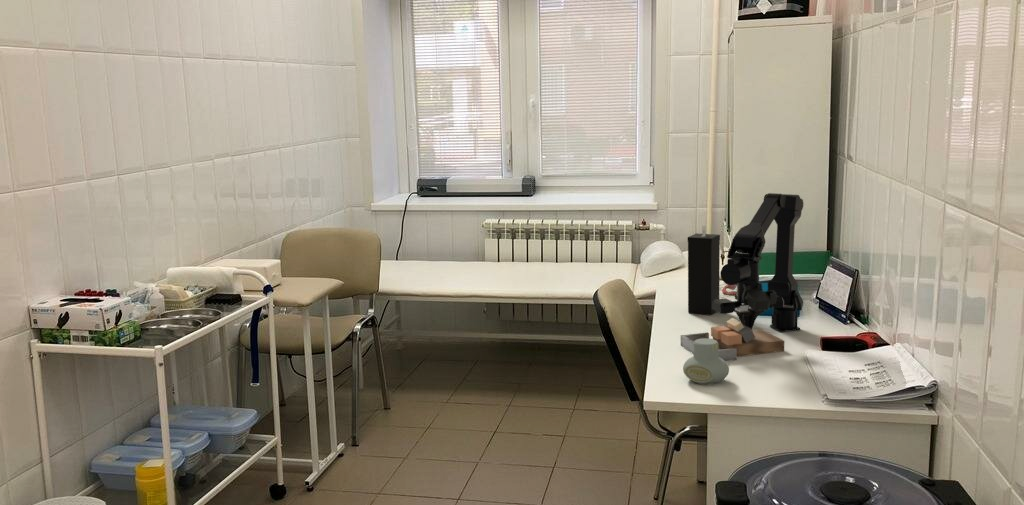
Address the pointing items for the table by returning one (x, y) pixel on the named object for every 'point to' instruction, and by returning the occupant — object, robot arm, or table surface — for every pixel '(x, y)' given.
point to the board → (756, 344)
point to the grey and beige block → (740, 329)
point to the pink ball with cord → (729, 288)
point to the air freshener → (706, 363)
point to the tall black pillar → (703, 272)
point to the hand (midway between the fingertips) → (747, 334)
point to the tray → (689, 339)
